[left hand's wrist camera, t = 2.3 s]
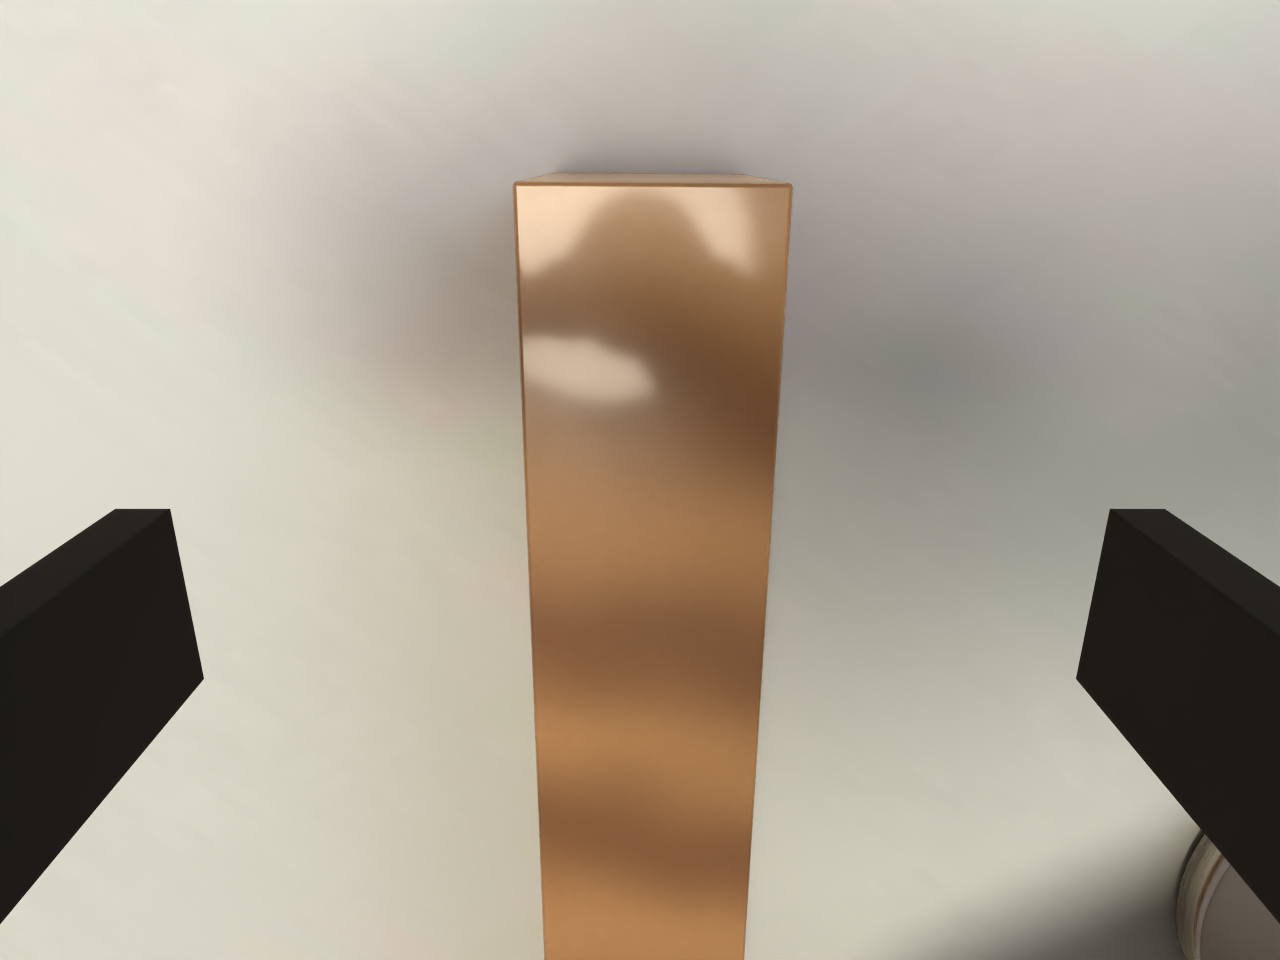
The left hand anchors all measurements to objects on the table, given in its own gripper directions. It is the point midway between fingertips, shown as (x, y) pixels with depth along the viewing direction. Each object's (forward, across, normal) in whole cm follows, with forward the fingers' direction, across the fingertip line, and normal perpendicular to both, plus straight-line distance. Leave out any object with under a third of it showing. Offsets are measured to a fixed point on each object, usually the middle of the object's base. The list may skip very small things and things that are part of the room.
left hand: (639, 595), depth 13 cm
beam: (+16, 0, -32) cm, 35 cm away
